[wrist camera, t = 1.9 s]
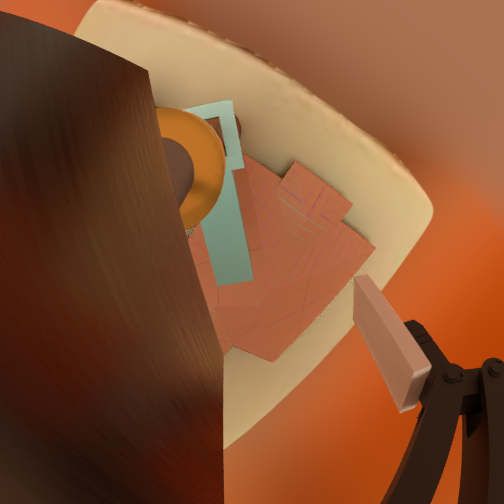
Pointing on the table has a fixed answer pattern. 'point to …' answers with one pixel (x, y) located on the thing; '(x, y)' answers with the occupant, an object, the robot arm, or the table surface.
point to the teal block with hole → (226, 206)
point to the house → (281, 259)
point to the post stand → (103, 282)
